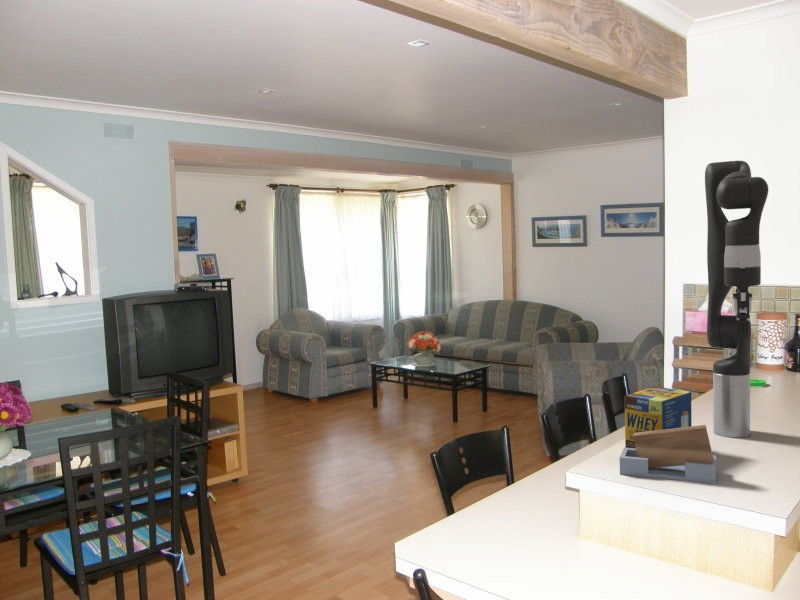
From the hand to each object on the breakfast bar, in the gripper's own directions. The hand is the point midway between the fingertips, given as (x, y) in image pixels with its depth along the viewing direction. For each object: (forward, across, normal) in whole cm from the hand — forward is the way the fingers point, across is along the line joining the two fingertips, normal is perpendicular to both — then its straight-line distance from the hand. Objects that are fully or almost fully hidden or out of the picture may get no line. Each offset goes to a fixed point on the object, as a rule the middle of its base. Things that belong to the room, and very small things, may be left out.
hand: (742, 334), depth 157 cm
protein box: (+32, -9, -19) cm, 39 cm away
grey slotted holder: (+32, +8, -16) cm, 37 cm away
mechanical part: (+32, -102, +4) cm, 107 cm away
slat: (+30, +8, -14) cm, 34 cm away
